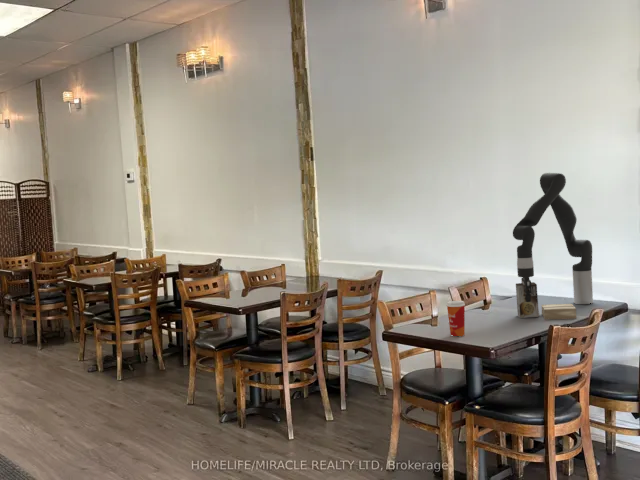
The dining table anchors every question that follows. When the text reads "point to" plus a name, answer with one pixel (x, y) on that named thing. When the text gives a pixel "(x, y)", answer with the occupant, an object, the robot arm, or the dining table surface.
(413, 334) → the dining table surface
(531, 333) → the dining table surface
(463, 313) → the coffee cup
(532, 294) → the coffee box
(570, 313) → the birch block
